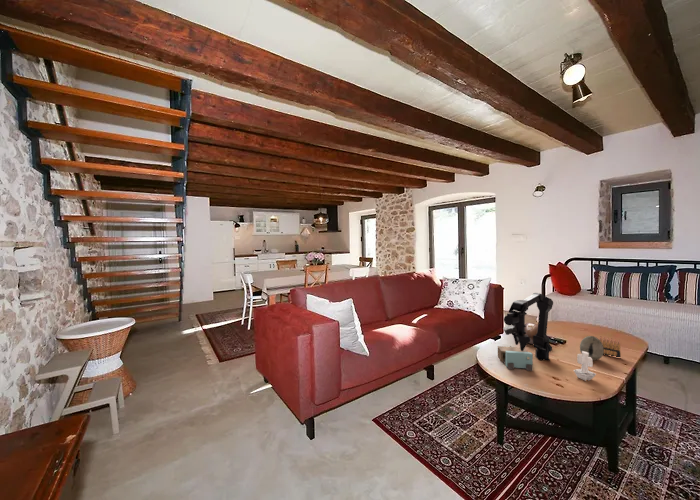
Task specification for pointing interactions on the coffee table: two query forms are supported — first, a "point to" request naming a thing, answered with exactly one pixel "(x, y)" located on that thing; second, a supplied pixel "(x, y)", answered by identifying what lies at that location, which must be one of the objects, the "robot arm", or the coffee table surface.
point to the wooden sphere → (531, 331)
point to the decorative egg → (592, 347)
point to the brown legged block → (502, 356)
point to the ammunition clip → (611, 347)
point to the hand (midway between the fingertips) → (519, 347)
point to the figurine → (584, 366)
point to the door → (519, 358)
